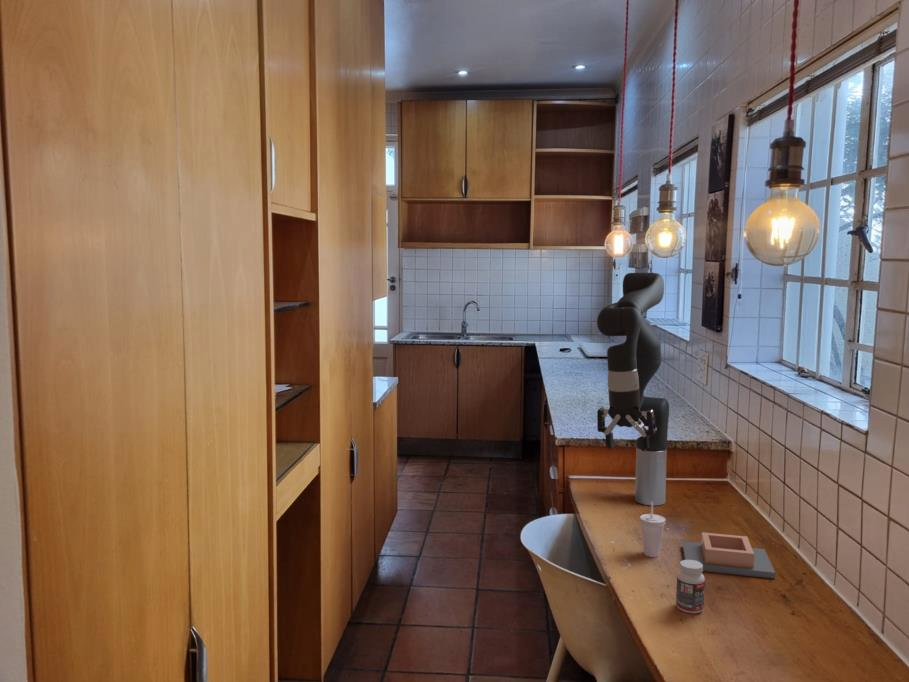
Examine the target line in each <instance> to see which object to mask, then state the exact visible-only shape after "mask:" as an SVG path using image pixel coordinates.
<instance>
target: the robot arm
mask: <svg viewBox="0 0 909 682" xmlns="http://www.w3.org/2000/svg"><path fill="white" fill-rule="evenodd" d="M664 295H665V283H664V278H663V276H662V275H661V274H660V273H656V272H628V273H625V275H624V276H623V279H622V297H620V298H619V300H618V301H617V302H614V303H612V304H611V303H610V305H607V306H605V307H603V308H602V309H601V310H600V312H599V313H598V316H597V318H596V325H597V330H598V331H599V332H600V334H602V335H604V336H605V337H624V336H625V337H626V339H625V341H624V342H623V343H618V344H615V345H612V346H611V345H610V346H609V347H608V348H607V350H606V357H607V358H606V359H607V389H608V401H609V402H608V403H609V404H608V405H609V408H605V407H603V406H601V407H600V408H599V409H598V410H597V411H596V412H597V413H596V414H597V416H596V418H597V422H596V423H597V430H596V431H597V432H599V433H602V434H604V436H605V446H606V447H608V450H613V449H614V447H615V446H614V445H615V443H614V433H613V432H612V431H613V430H614V428H615V427H616V426H617V427H620V428H622V427H627V428H632V427H633V428H634V429H635V431H637V432H638V433H639V435H641V436H639V437H638V438H637V439H636V442H635V443H636V447H635V448H636V450H635V451H636V452H635V453H636V454H635V487H634V489H635V490H634V493H635V494H634V501H635V502H637V503H639V504H641V505H645V506H651V502H653V507H654V506H655V507H656V506H662V505H664V504H666V493H667V492H666V491H667V489H666V488H667V487H666V486H667V457H668V456H667V455H668V432H669V431H668V430H669V428H668V427H669V419H670V417H669V416H670V404H669V403H670V402H669V401H668V399H667V398H663V397H655V396H654V397H653V396H645V394H644V391H645V390H646V387H647V386H648V383H649V382H650V381H652V378H653V377H654V376H655V374H656V373H657V372H658V370H659V368H660V367H661V364H662V347H661V346H662V345H661V341H660V338H659V337H658V336H657V334H656V333H655V331H654V330H653V329H652V328H651V326H650V325H649V324H648V323H647V321H646V320H645V319H644V317H643V314H645V312H646V311H648V310H650V309H652V308H654V307H655V306H657V305H658V304H660V303H661V301H662V300H663V298H664ZM607 415H609V417H610V418H611V422H610V423H609V425H608V426H606V417H607Z"/></svg>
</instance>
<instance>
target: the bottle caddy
mask: <svg viewBox="0 0 909 682" xmlns="http://www.w3.org/2000/svg"><path fill="white" fill-rule="evenodd" d="M683 552H684V553H683ZM682 553H683V558H684V559H683V560H695V561H698V562H700V563H702V565H703V572H708V573H717V574H727V575H736V576H737V575H738V576H745V577H755V578H756V577H757V578H765V579H772V580H773V579H776V571H775V569H774V567H773V564H772V562H771V560H770V558H769V556H768V554H767V552H766V550H765V548H756V547H752V545H751V543H750V540H749V537H748V536H746V535H744V536H743V535H733V534H723V533H714V532H713V533H711V532H701V542H694V541H693V542H692V541H686V540H685V541H682Z"/></svg>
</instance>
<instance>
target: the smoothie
mask: <svg viewBox="0 0 909 682" xmlns="http://www.w3.org/2000/svg"><path fill="white" fill-rule="evenodd" d="M639 522H640V523H641V524H640V525H641V535H642V545H643V554H644V556H646V555H647V556H646V557H648V556H649V557H650V558H658V557H659V556H660V552H661V547H662V546H661V545H662V540H663V539H662V538H663V536H664V535H663V533H664V527H665V525H666V522H667V521H666V518H665V517H664V516H662V515H661V514H660V515H659V514H654V505H653V502H651V505H650V513H645V514H641V515H640V517H639ZM657 556H658V557H657ZM649 557H648V558H649Z"/></svg>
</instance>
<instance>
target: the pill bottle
mask: <svg viewBox="0 0 909 682" xmlns="http://www.w3.org/2000/svg"><path fill="white" fill-rule="evenodd" d="M679 569H680V570H678V572H677V574H676V595H675V596H676V597H675V598H676V599H675V605H676V607H677V609H679V610H680V611H682V612H683V613H688V614H700V613H701V612H703V610H704V609H705V587H706V586H705V585H706V584H705V581H706V578H705V575H704V574H703V572H704V571H703V565H702V563H700V562H698V561H695V560H685V559H683V560H681V561H679Z"/></svg>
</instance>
